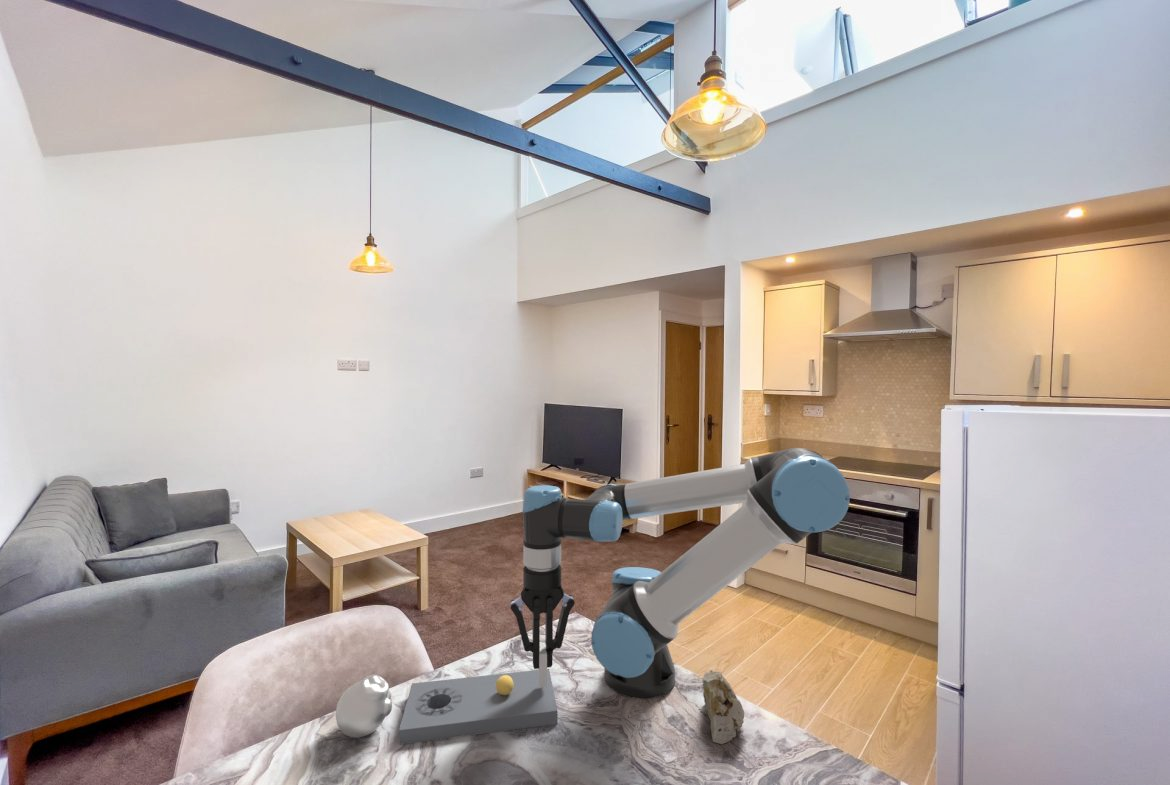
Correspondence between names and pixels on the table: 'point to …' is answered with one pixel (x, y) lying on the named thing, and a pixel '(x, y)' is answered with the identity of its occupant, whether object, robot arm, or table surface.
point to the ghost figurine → (364, 706)
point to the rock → (722, 707)
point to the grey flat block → (476, 707)
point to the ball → (504, 685)
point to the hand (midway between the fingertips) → (542, 682)
